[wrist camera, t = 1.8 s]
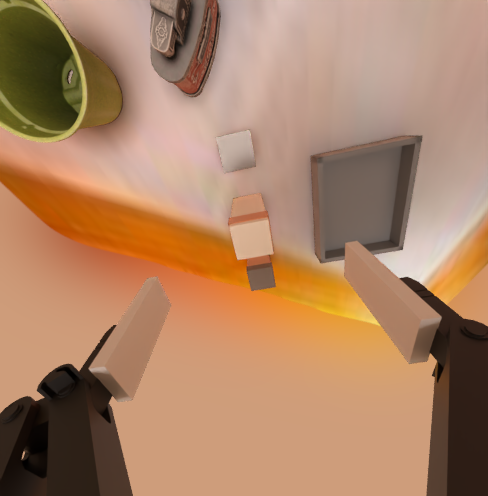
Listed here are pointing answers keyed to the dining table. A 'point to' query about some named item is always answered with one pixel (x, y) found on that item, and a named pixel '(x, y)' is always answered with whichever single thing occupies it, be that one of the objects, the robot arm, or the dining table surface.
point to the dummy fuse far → (260, 272)
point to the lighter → (184, 41)
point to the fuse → (250, 227)
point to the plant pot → (49, 76)
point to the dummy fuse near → (236, 151)
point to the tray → (363, 196)
